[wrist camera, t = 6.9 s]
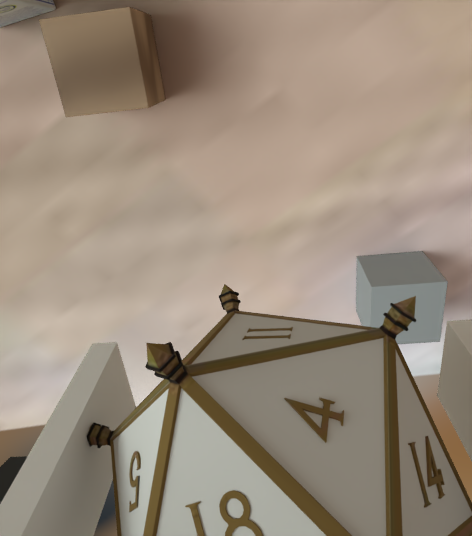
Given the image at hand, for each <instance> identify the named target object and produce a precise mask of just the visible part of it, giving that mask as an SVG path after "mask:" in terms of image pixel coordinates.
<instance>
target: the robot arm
mask: <svg viewBox="0 0 472 536" xmlns="http://www.w3.org/2000/svg"><path fill="white" fill-rule="evenodd" d="M437 396H438V398H439V399H440V401H441V403H442V405H443V407H444V409H445V411H446V413H447V415H448V417H449V419H450V421H451V422H452V424H453V426H454V428H455V430H456V432H457V434H458V435H459V438H460V440H461V442H462V443H463V445H464V447H465V449H466V451H467V453H468V455H469V457H470V459H471V461H472V320H459V321H447V327H446V334H445V341H444V349H443V356H442V364H441V371H440V379H439V386H438V393H437ZM135 409H136V406H135V402H134V399H133V395H132V392H131V389H130V385H129V382H128V378H127V375H126V372H125V368H124V365H123V361H122V358H121V355H120V351H119V348H118V344H117V342H112V343H97V344H92V346H91V347H90V349H89V351H88V352H87V354H86V356H85V358H84V359H83V361H82V363H81V365H80V366H79V368H78V370H77V372H76V373H75V375H74V377H73V379H72V380H71V382H70V384H69V386H68V387H67V389H66V391H65V392H64V394H63V396H62V398H61V399H60V401H59V403H58V405H57V406H56V408H55V410H54V412H53V413H52V415H51V417H50V419H49V420H48V422H47V424H46V425H45V427H44V429H43V431H42V432H41V434H40V436H39V438H38V439H37V441H36V443H35V445H34V446H33V448H32V450H31V452H30V453H29V455H28V456H27V457H10V458H9V459H8V460H7V461H6V462H5V463H4V464H3V465H2V466H1V467H0V536H93V535H94V532H95V529H96V526H97V523H98V520H99V517H100V515H101V512H102V508H103V506H104V503H105V500H106V497H107V494H108V491H109V488H110V486H111V483H112V480H113V470H112V457H111V446H109V445H104V446H101V447H100V448H97V445H92V446H91V447H90V445H89V443H88V440H87V435H88V432H89V429H90V426H91V425H92V424H93V422H94V423H97V424H100V425H101V426H102V425H105V426H108V427H109V429H110V430H111V431H114V430H115V429H116V428H117V427H118V426H119V425H120V424H121V423H122V422H123V421H124V420H125V419H126V418H127V417H128V416H129V415H130V414H131V413H132V412H133V411H134V410H135Z"/></svg>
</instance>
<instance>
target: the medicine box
mask: <svg viewBox="0 0 472 536" xmlns="http://www.w3.org/2000/svg"><path fill="white" fill-rule="evenodd" d="M55 9H56V7H55V4H54V2H53V0H0V27H3V26H6V25H9V24H12V23H15V22H18V21H21V20H24V19H28V18H31V17H34V16H37V15H40V14H43V13H46V12H50V11H53V10H55Z"/></svg>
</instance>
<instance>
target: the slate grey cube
mask: <svg viewBox="0 0 472 536" xmlns="http://www.w3.org/2000/svg"><path fill="white" fill-rule="evenodd" d="M447 282H448V281H447V280H446V279H445V278H444V277H443V275H442V274H441V273H440V272H439V271H438V269H437V268H436V267H435V266H434V265H433V263H432V262H431V261H430V260H429V259H428V257H427V256H426V255H425V254H424V253H423V251H418V252H405V253H393V254H380V255H368V256H357V277H356V311H357V314H358V316H359V319H360V322H361V324H362V326H367V327H376V328H379V327H381V326H382V325H383V322H384V319H385V316H384V315H383V314H384V313H388V311H389V310H390V308H391V307H392V306H390V304H391V303H393V304H395V303H398V302H401V301H403V300H406V299H409V298H411V297H414V296H416V302H415V316H414V318H415V319H416V320H417V321H416V322H413V321H412V322H411V323H410V324H409V326H408V331H405V330H404V331H402V332H401V333H399V334H398V335H397V336H396V339H395V340H396V342H397V344H409V343H426V342H440V338H441V330H442V322H443V314H444V306H445V298H446V290H447Z"/></svg>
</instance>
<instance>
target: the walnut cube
mask: <svg viewBox="0 0 472 536" xmlns="http://www.w3.org/2000/svg"><path fill="white" fill-rule="evenodd" d="M39 22H40V26H41V29H42V33H43V36H44V40H45V44H46V47H47V51H48V54H49V58H50V62H51V65H52V69H53V73H54V76H55V80H56V83H57V87H58V91H59V94H60V98H61V101H62V105H63V109H64V112H65V116H66V117H73V116H81V115H90V114H99V113H107V112H116V111H124V110H133V109H142V108H149V107H151V106H153V105H155V104H158V103H160V102H162V101H164V100H165V94H164V88H163V82H162V77H161V71H160V65H159V59H158V54H157V48H156V42H155V36H154V31H153V25H152V19H151V15H149V14H147V13H144V12H141V11H139V10H136V9H133V8H131V7H125V8H117V9H110V10H103V11H96V12H89V13H82V14H75V15H67V16H60V17H53V18H46V19H39Z"/></svg>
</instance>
